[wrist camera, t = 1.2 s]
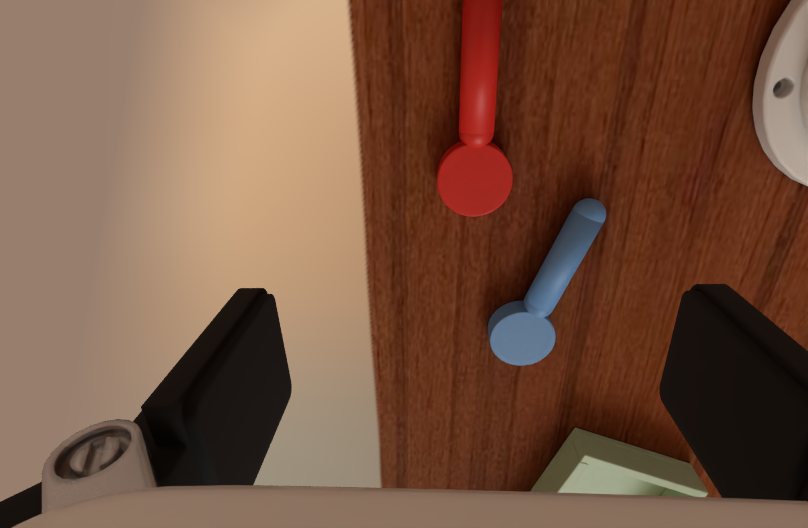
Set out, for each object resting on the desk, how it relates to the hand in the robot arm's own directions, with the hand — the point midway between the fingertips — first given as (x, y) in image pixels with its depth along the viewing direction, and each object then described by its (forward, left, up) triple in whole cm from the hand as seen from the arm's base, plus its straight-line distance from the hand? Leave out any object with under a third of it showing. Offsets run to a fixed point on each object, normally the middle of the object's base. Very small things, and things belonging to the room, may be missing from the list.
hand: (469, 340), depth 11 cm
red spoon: (-4, 0, -16) cm, 17 cm away
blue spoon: (+4, +8, -16) cm, 19 cm away
